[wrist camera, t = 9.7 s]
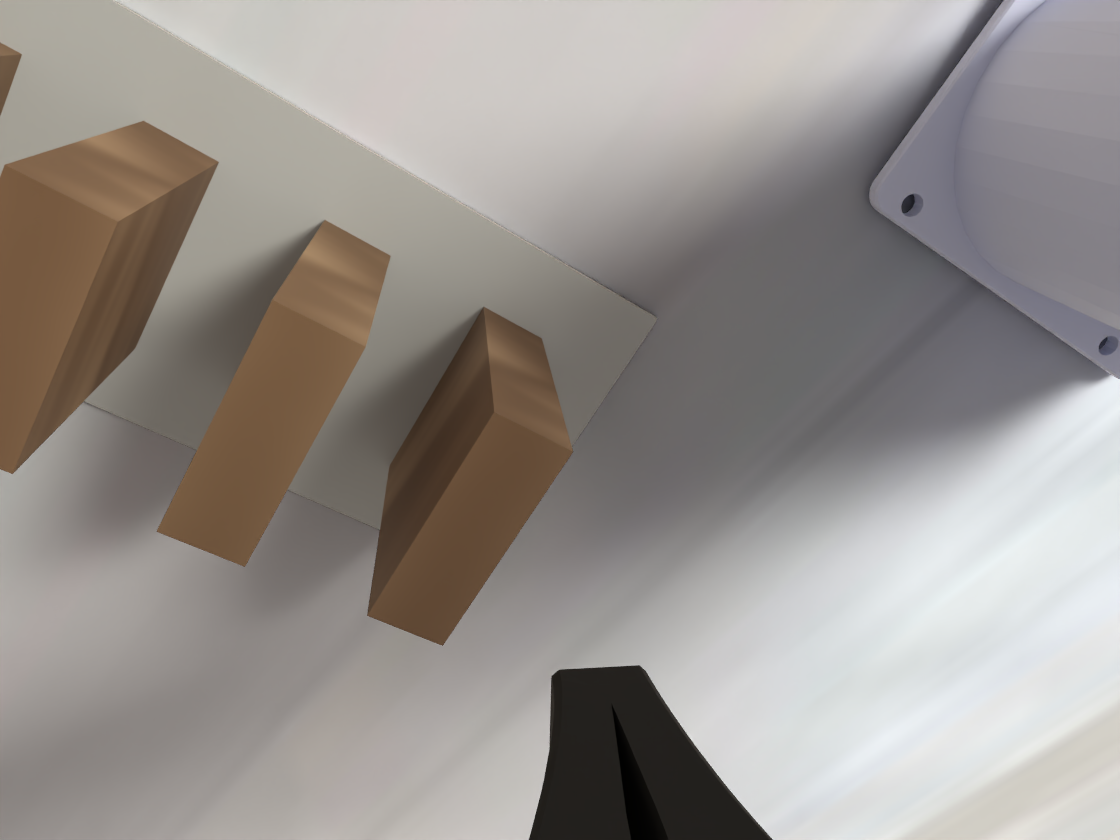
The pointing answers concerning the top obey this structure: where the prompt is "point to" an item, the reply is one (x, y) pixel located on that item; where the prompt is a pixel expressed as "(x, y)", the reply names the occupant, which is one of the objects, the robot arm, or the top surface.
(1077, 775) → the top surface
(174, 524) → the tile
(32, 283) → the tile
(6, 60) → the tile
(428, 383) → the runner mat
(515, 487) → the tile
